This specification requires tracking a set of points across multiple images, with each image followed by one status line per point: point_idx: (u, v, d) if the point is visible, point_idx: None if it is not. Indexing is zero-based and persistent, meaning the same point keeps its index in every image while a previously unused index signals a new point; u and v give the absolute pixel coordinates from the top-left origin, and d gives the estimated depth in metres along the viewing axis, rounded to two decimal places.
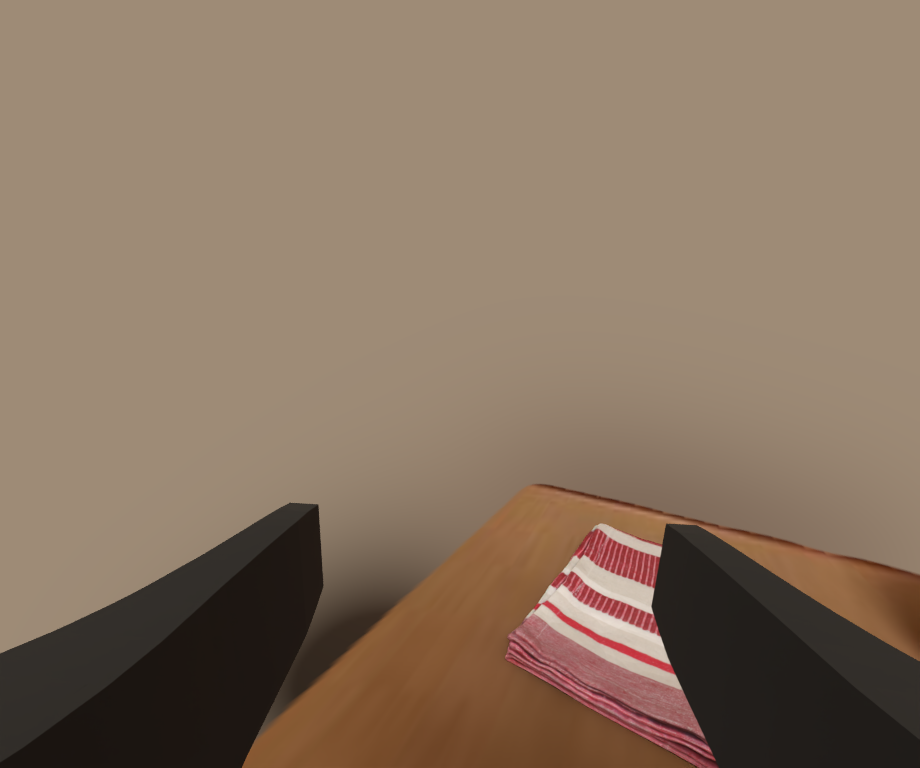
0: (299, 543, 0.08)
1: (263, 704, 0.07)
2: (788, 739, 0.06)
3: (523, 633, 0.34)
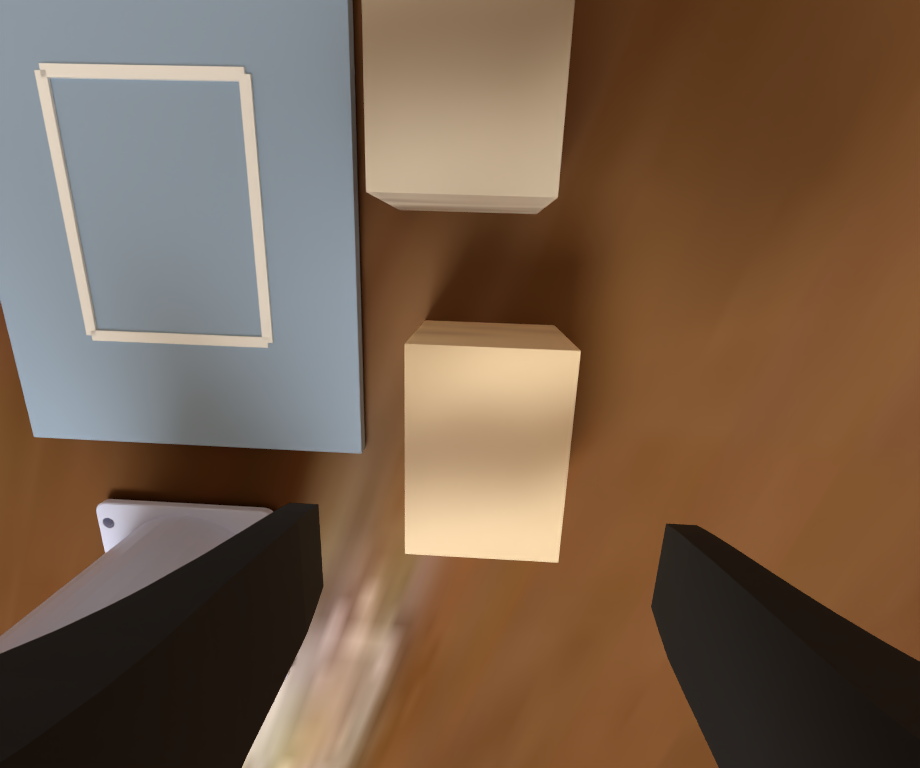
0: (299, 543, 0.08)
1: (263, 704, 0.07)
2: (788, 739, 0.06)
3: None
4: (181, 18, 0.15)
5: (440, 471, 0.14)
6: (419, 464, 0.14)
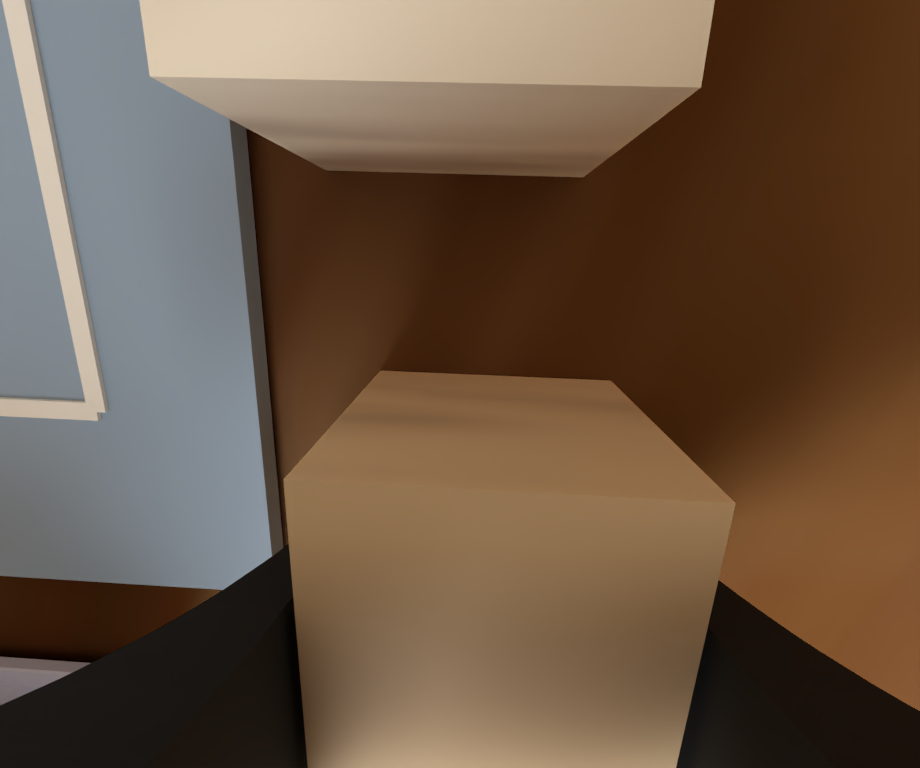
0: None
1: None
2: (703, 733, 0.06)
3: None
4: None
5: (385, 746, 0.06)
6: (337, 729, 0.06)
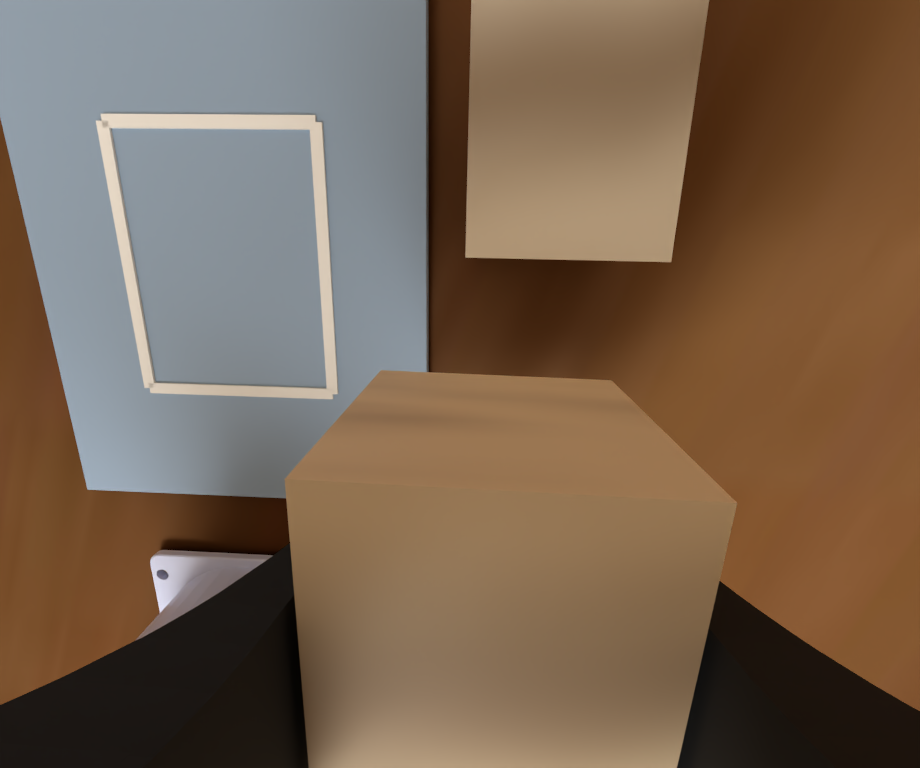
0: None
1: None
2: (703, 733, 0.06)
3: None
4: (250, 66, 0.14)
5: (385, 746, 0.06)
6: (338, 730, 0.06)
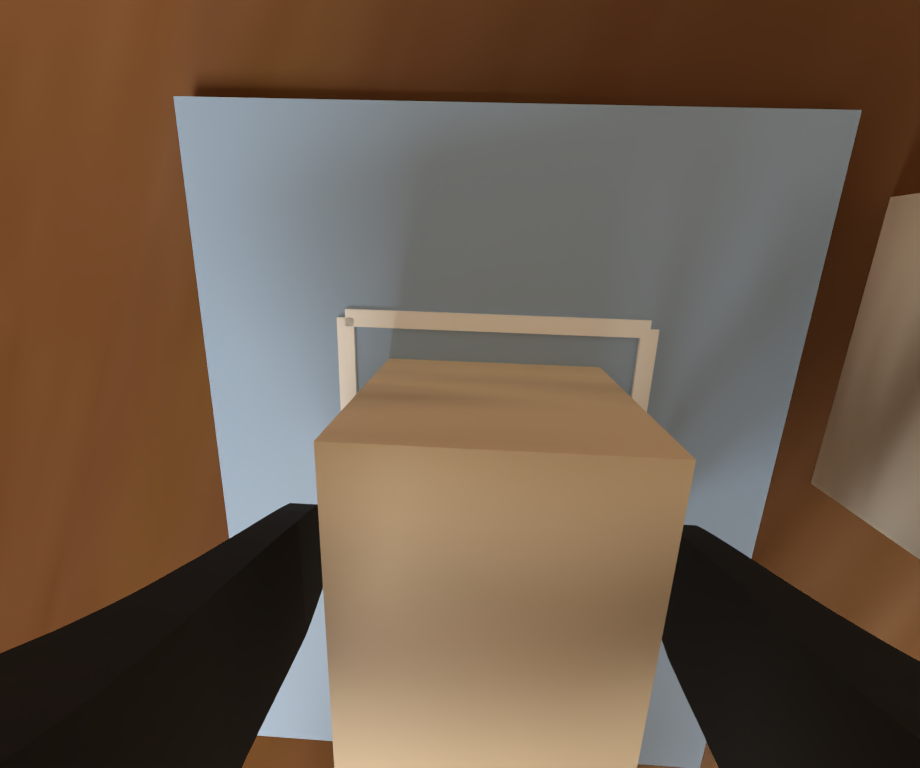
0: (299, 543, 0.08)
1: (263, 704, 0.07)
2: (788, 739, 0.06)
3: None
4: (569, 255, 0.10)
5: (398, 679, 0.07)
6: (357, 665, 0.07)
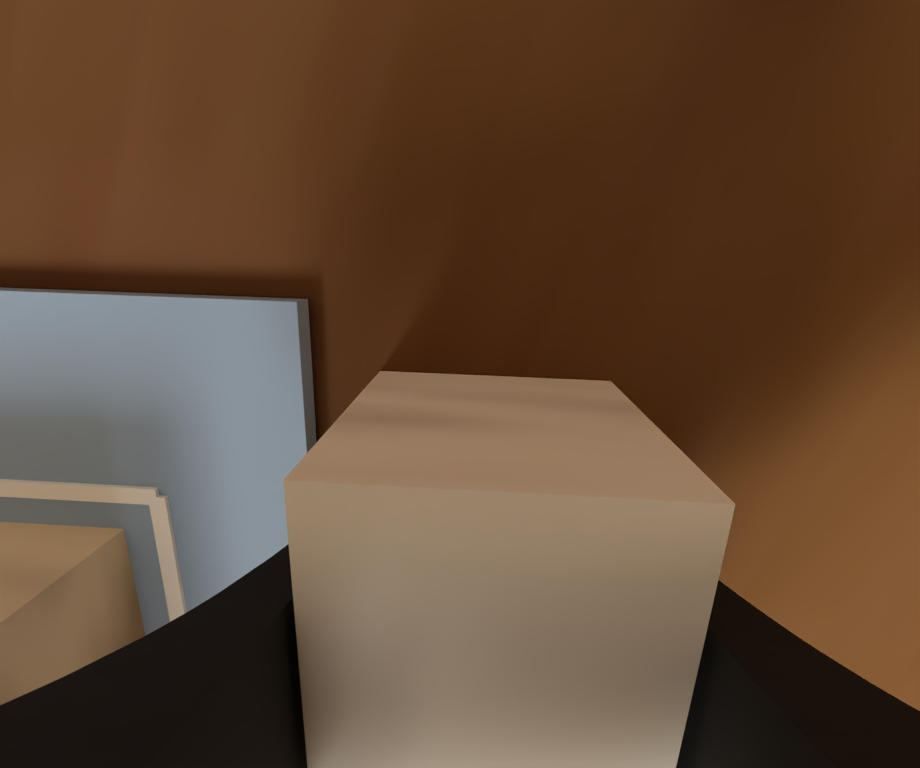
0: None
1: None
2: (703, 732, 0.06)
3: None
4: (61, 427, 0.10)
5: None
6: None
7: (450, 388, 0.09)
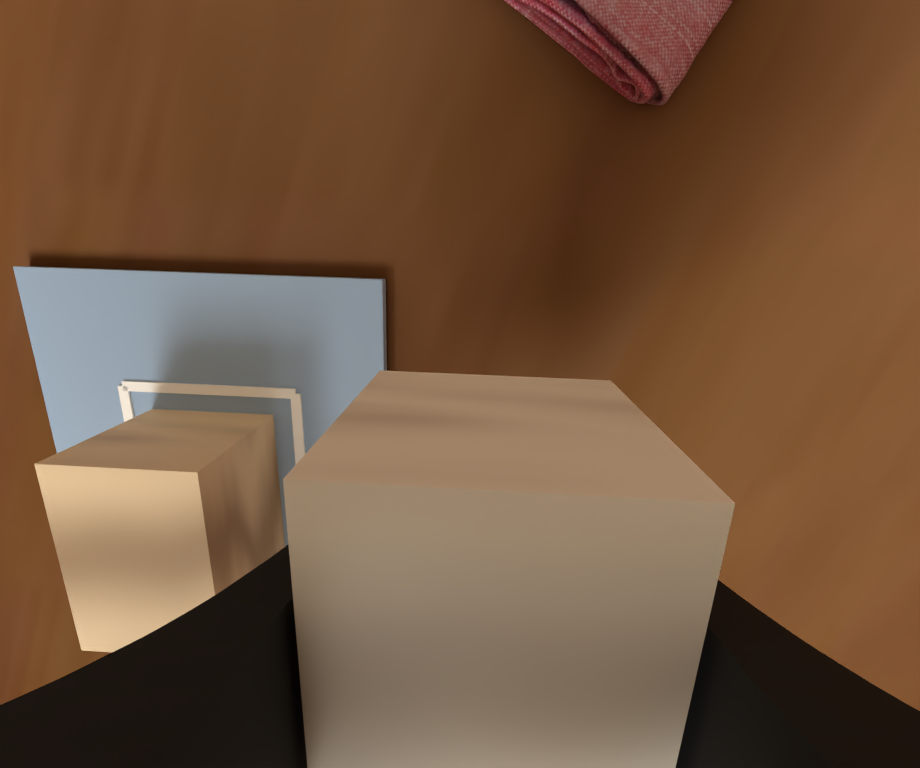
0: None
1: None
2: (703, 733, 0.06)
3: None
4: (243, 352, 0.17)
5: (95, 577, 0.15)
6: (75, 570, 0.15)
7: (450, 388, 0.09)
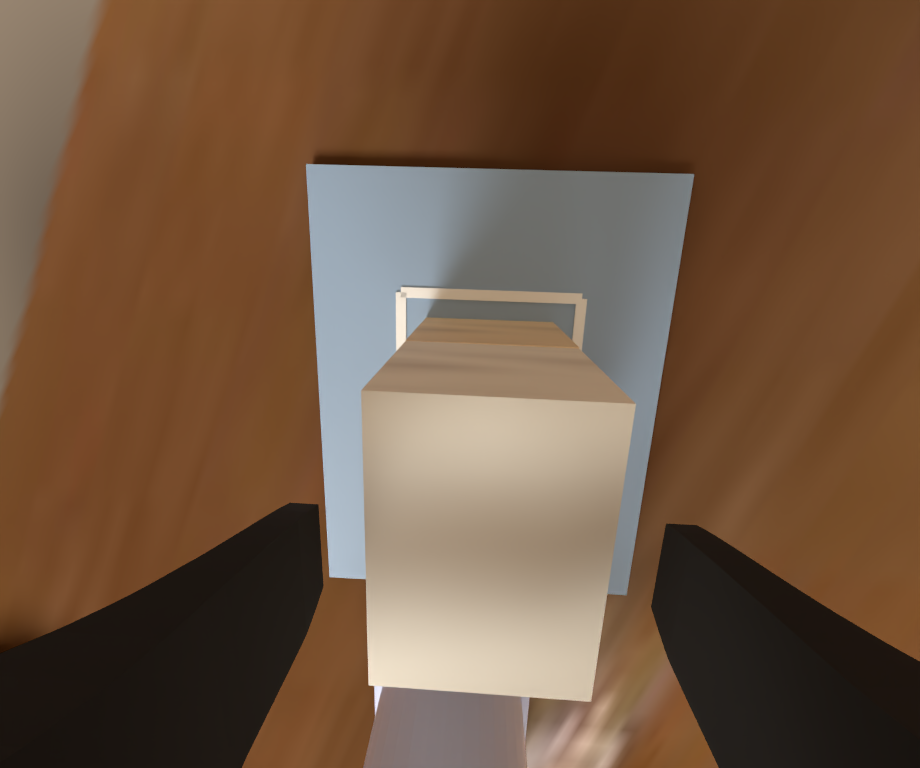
0: (299, 543, 0.08)
1: (263, 704, 0.07)
2: (788, 739, 0.06)
3: None
4: (533, 254, 0.17)
5: None
6: None
7: (460, 350, 0.12)
